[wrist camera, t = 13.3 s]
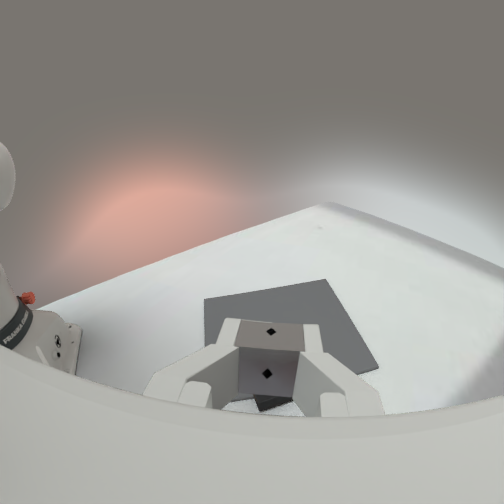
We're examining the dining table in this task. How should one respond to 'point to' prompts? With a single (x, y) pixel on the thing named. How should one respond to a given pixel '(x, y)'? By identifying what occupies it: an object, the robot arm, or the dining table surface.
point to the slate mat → (295, 319)
